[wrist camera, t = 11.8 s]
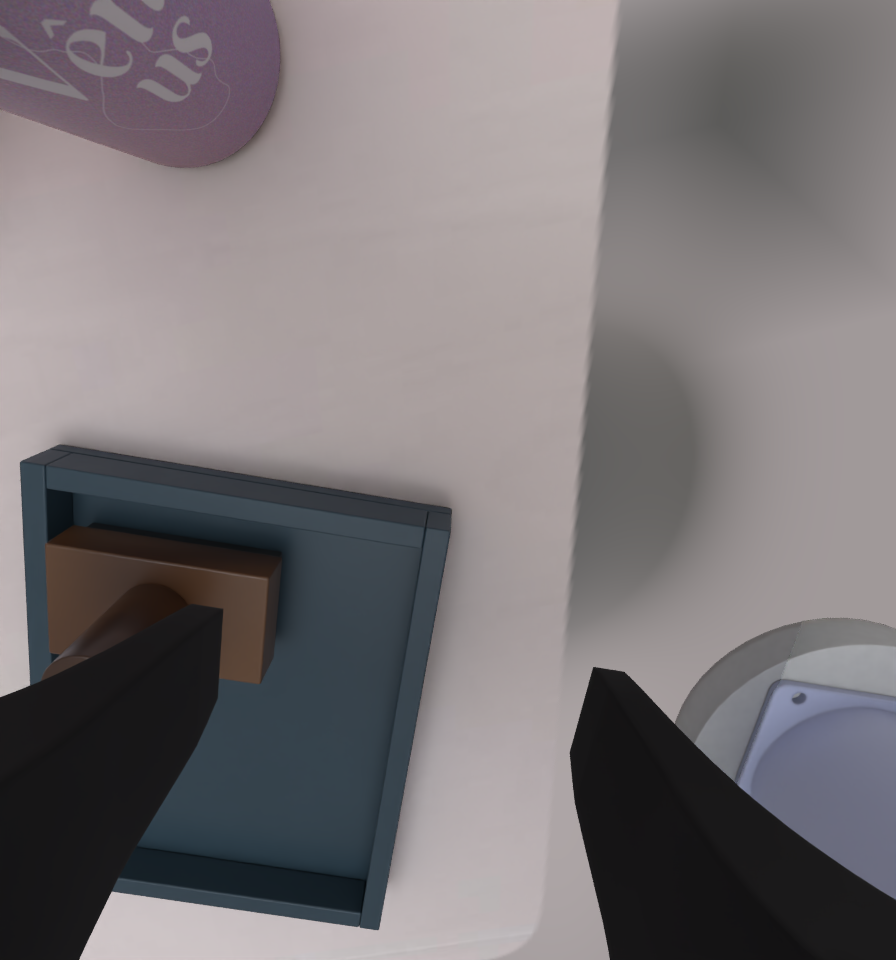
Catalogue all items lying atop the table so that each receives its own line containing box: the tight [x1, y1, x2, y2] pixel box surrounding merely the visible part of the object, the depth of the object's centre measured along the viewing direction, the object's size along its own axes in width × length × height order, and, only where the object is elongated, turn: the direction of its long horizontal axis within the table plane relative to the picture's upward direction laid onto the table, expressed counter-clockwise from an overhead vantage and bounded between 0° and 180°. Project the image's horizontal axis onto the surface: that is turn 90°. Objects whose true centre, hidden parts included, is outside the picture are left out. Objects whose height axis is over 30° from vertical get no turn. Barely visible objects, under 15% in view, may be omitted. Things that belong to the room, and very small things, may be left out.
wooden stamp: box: [41, 523, 282, 684], centre depth 20 cm, size 7×4×6 cm, turn 81°
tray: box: [20, 445, 452, 930], centre depth 24 cm, size 14×18×2 cm
